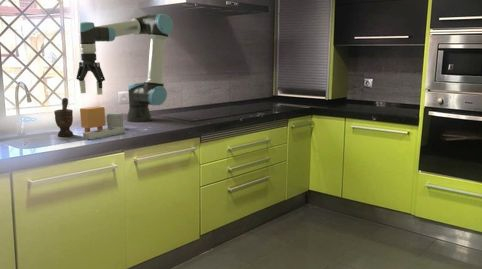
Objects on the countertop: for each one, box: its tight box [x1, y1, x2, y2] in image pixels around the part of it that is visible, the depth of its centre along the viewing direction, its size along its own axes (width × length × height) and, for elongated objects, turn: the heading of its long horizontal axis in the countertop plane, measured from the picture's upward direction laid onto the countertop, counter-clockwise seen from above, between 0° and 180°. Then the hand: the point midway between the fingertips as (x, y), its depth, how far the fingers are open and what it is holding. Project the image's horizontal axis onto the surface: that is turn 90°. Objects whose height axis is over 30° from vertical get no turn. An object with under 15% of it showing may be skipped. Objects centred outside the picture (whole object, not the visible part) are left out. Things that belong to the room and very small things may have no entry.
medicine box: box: [106, 112, 124, 128], centre depth 245 cm, size 8×4×9 cm, turn 92°
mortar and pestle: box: [54, 97, 74, 137], centre depth 224 cm, size 12×9×20 cm
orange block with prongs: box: [79, 105, 107, 133], centre depth 235 cm, size 11×6×13 cm, turn 146°
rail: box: [82, 126, 126, 140], centre depth 225 cm, size 22×5×3 cm, turn 146°
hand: (91, 93), depth 232 cm, fingers open, 13 cm apart
